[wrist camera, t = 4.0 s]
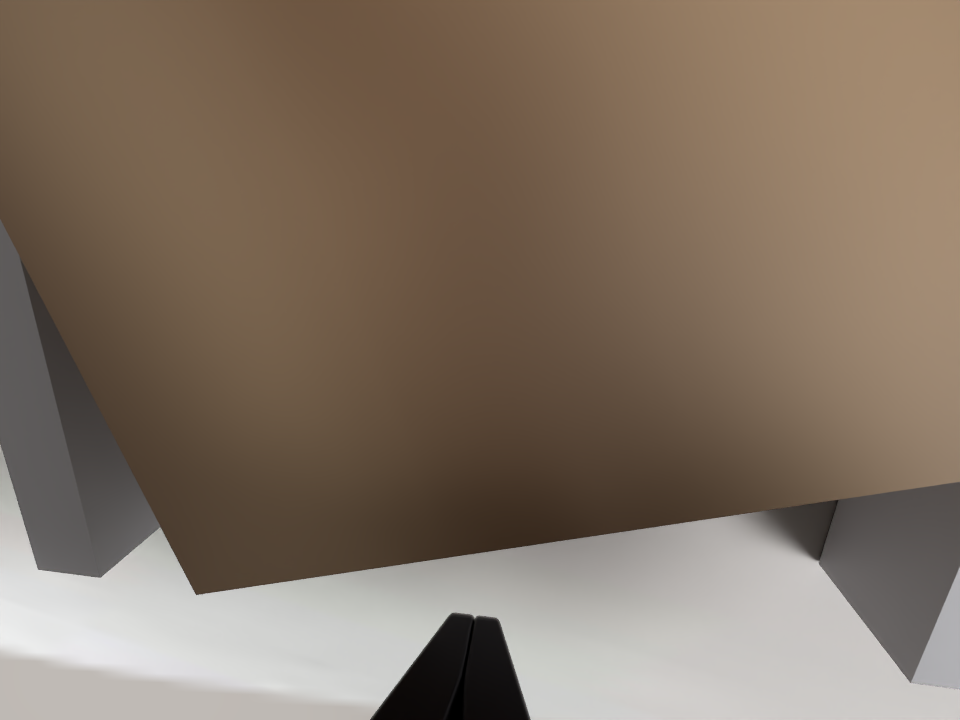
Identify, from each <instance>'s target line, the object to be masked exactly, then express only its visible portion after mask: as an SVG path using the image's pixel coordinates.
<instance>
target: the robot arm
mask: <svg viewBox="0 0 960 720" xmlns="http://www.w3.org/2000/svg"><path fill="white" fill-rule="evenodd" d="M370 720H531V719H530V716H529V713H528V710H527V707H526V704H525V700H524V697H523V694H522V691H521V688H520V685H519V681H518V678H517V675H516V672H515V669H514V665H513V662H512V659H511V656H510V653H509V650H508V646H507V643H506V640H505V637H504V634H503V631H502V627H501V624H500V622H499V620H498V619H497V618H494V617H486V616H477V617H476V618H475V619H474V617H473V616H472V615H470V614H462V613H452V614H450V615H449V616H448V618H447V619H446V620H445V622H444V623H443V624H442V626H441V627H440V628H439V630H438V631H437V632H436V633H435V635H434V636H433V637H432V639H431V640H430V641H429V643H428V644H427V645H426V647H425V648H424V649H423V651H422V652H421V653H420V655H419V656H418V657H417V658H416V660H415V661H414V662H413V664H412V665H411V666H410V668H409V669H408V670H407V672H406V673H405V674H404V676H403V677H402V678H401V680H400V681H399V682H398V684H397V685H396V686H395V687H394V689H393V690H392V691H391V693H390V694H389V695H388V697H387V698H386V699H385V701H384V702H383V703H382V705H381V706H380V707H379V709H378V710H377V711H376V712H375V714H374V715H373V716H372V718H371V719H370Z"/></svg>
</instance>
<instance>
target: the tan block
mask: <svg viewBox="0 0 960 720" xmlns="http://www.w3.org/2000/svg"><path fill="white" fill-rule="evenodd" d="M0 220H1V222H2V223H3V225H4V227H5V229H6V231H7V233H8V235H9V237H10V239H11V241H12V243H13V245H14V247H15V248H16V250H17V252H18V254H19V256H20V258H21V260H22V262H23V264H24V266H25V268H26V270H27V271H28V273H29V275H30V277H31V279H32V281H33V283H34V285H35V287H36V289H37V291H38V293H39V294H40V296H41V298H42V300H43V302H44V304H45V306H46V308H47V310H48V312H49V314H50V316H51V318H52V319H53V321H54V323H55V325H56V327H57V329H58V331H59V333H60V335H61V337H62V339H63V341H64V342H65V344H66V346H67V348H68V350H69V352H70V354H71V356H72V358H73V360H74V362H75V364H76V365H77V367H78V369H79V371H80V373H81V375H82V377H83V379H84V381H85V383H86V385H87V387H88V388H89V390H90V392H91V394H92V396H93V398H94V400H95V402H96V404H97V406H98V408H99V410H100V412H101V413H102V415H103V417H104V419H105V421H106V423H107V425H108V427H109V429H110V431H111V433H112V435H113V436H114V438H115V440H116V442H117V444H118V446H119V448H120V450H121V452H122V454H123V456H124V458H125V459H126V461H127V463H128V465H129V467H130V469H131V471H132V473H133V475H134V477H135V479H136V481H137V483H138V484H139V486H140V488H141V490H142V492H143V494H144V496H145V498H146V500H147V502H148V504H149V506H150V507H151V509H152V511H153V513H154V515H155V517H156V519H157V521H158V523H159V525H160V527H161V529H162V530H163V532H164V534H165V536H166V538H167V540H168V542H169V544H170V546H171V548H172V550H173V552H174V554H175V555H176V557H177V559H178V561H179V563H180V565H181V567H182V569H183V571H184V573H185V575H186V577H187V578H188V580H189V582H190V584H191V586H192V588H193V590H194V592H195V594H196V595H198V594H205V593H212V592H219V591H225V590H232V589H239V588H246V587H252V586H259V585H266V584H273V583H279V582H286V581H293V580H300V579H306V578H313V577H320V576H327V575H333V574H340V573H347V572H354V571H360V570H367V569H374V568H381V567H387V566H394V565H401V564H408V563H414V562H421V561H428V560H435V559H441V558H448V557H455V556H462V555H468V554H475V553H482V552H489V551H496V550H502V549H509V548H516V547H523V546H529V545H536V544H543V543H550V542H556V541H563V540H570V539H577V538H583V537H590V536H597V535H604V534H610V533H617V532H624V531H631V530H637V529H644V528H651V527H658V526H664V525H671V524H678V523H685V522H691V521H698V520H705V519H712V518H718V517H725V516H732V515H739V514H745V513H752V512H759V511H766V510H772V509H779V508H786V507H793V506H800V505H806V504H813V503H820V502H827V501H833V500H840V499H847V498H854V497H860V496H867V495H874V494H881V493H887V492H894V491H901V490H908V489H914V488H921V487H928V486H935V485H941V484H948V483H955V482H960V0H0Z"/></svg>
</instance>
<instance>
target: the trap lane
mask: <svg viewBox="0 0 960 720" xmlns="http://www.w3.org/2000/svg"><path fill="white" fill-rule="evenodd" d="M0 444H1V447H2V450H3V454H4V457H5V461H6V464H7V467H8V471H9V474H10V477H11V481H12V484H13V487H14V491H15V494H16V497H17V501H18V504H19V507H20V511H21V514H22V517H23V521H24V524H25V527H26V531H27V534H28V537H29V541H30V544H31V547H32V551H33V554H34V558H35V561H36V564H37V568H38V570H45V571H53V572H60V573H68V574H76V575H83V576H91V577H99V578H101V577H102V576H103V575H104V574H105V573H106V572H108V571H109V570H110V569H111V568H112V567H114V566H115V565H116V564H117V563H118V562H119V561H121V560H122V559H123V558H124V557H125V556H126V555H128V554H129V553H130V552H131V551H132V550H134V549H135V548H136V547H137V546H138V545H139V544H141V543H142V542H143V541H144V540H145V539H147V538H148V537H149V536H150V535H151V534H152V533H154V532H155V531H156V530H157V529H158V528H159V527H160V525H159V523H158V521H157V519H156V517H155V515H154V513H153V511H152V509H151V507H150V506H149V504H148V502H147V500H146V498H145V496H144V494H143V492H142V490H141V488H140V486H139V484H138V483H137V481H136V479H135V477H134V475H133V473H132V471H131V469H130V467H129V465H128V463H127V461H126V459H125V458H124V456H123V454H122V452H121V450H120V448H119V446H118V444H117V442H116V440H115V438H114V436H113V435H112V433H111V431H110V429H109V427H108V425H107V423H106V421H105V419H104V417H103V415H102V413H101V412H100V410H99V408H98V406H97V404H96V402H95V400H94V398H93V396H92V394H91V392H90V390H89V388H88V387H87V385H86V383H85V381H84V379H83V377H82V375H81V373H80V371H79V369H78V367H77V365H76V364H75V362H74V360H73V358H72V356H71V354H70V352H69V350H68V348H67V346H66V344H65V342H64V341H63V339H62V337H61V335H60V333H59V331H58V329H57V327H56V325H55V323H54V321H53V319H52V318H51V316H50V314H49V312H48V310H47V308H46V306H45V304H44V302H43V300H42V298H41V296H40V294H39V293H38V291H37V289H36V287H35V285H34V283H33V281H32V279H31V277H30V275H29V273H28V271H27V270H26V268H25V266H24V264H23V262H22V260H21V258H20V256H19V254H18V252H17V250H16V248H15V247H14V245H13V243H12V241H11V239H10V237H9V235H8V233H7V231H6V229H5V227H4V225H3V223H2V222H1V220H0ZM819 565H820V566H821V567H822V568H823V570H824V571H825V572H826V574H827V575H828V576H829V577H830V579H831V580H832V581H833V583H834V584H835V585H836V587H837V588H838V589H839V590H840V592H841V593H842V594H843V596H844V597H845V598H846V600H847V601H848V602H849V603H850V605H851V606H852V607H853V609H854V610H855V611H856V613H857V614H858V615H859V616H860V618H861V619H862V620H863V622H864V623H865V624H866V626H867V627H868V628H869V629H870V631H871V632H872V633H873V635H874V636H875V637H876V639H877V640H878V641H879V642H880V644H881V645H882V646H883V648H884V649H885V650H886V651H887V653H888V654H889V655H890V657H891V658H892V659H893V661H894V662H895V663H896V664H897V666H898V667H899V668H900V670H901V671H902V672H903V674H904V675H905V676H906V677H907V679H908V680H909V681H910V683H914V684H922V685H930V686H937V687H945V688H953V689H960V482H955V483H948V484H941V485H935V486H928V487H921V488H914V489H908V490H901V491H894V492H887V493H881V494H874V495H867V496H860V497H854V498H847V499H840V500H838V503H837V506H836V510H835V513H834V516H833V519H832V522H831V526H830V529H829V532H828V535H827V539H826V542H825V545H824V548H823V552H822V555H821V558H820V561H819Z"/></svg>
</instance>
